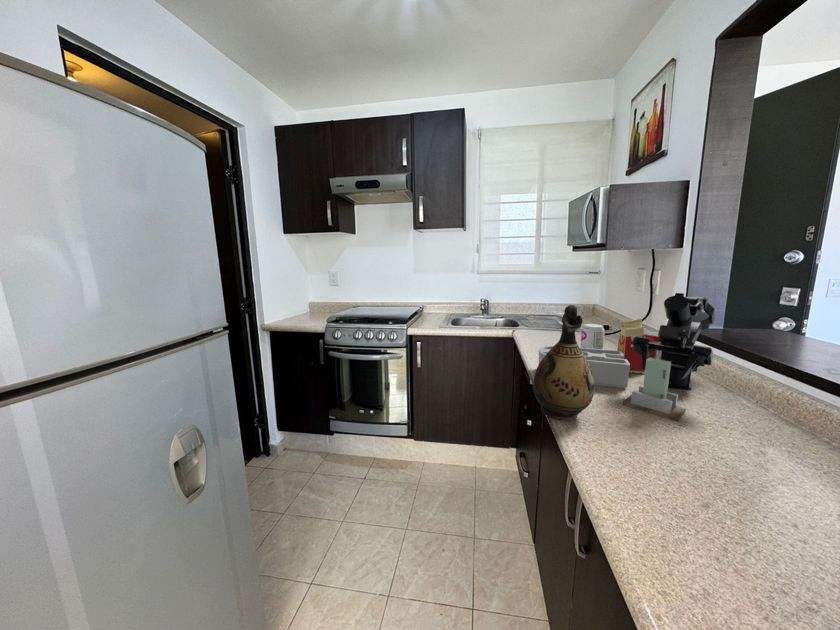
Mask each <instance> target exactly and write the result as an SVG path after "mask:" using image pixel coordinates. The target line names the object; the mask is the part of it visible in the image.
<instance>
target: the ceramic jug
mask: <svg viewBox="0 0 840 630" xmlns="http://www.w3.org/2000/svg"><path fill="white" fill-rule="evenodd" d="M563 312H564V314H563V315H562V317H561V322H562V325H561V326H562V327H561V334H560V337H559V340H558V342H557V343H555V344H554V345H552V346H553V347H552V349H551V350H549V352H548V353H547V354H546V355H545V356H544V358H543V359H542V360H541V362H540V363H539V362H538V365H537V367H536V370H535V372H534V375H533V380H532V381H533V382H532V391H533V393H534V396H535V399H536V400H537V401H538V403H539V405H540V409H541V413H542V415H544V416H547V417H548V418H551V419H553V420H557V421H573V420H575V419H576V418H577V416H578V415H579V414H580V413H581V412H583V411H584V410H585V409H586V408H588V407H589V406H590V404H591V403H592V401H593V398H594V395H595V385H594V377H593V374H592V371H591V368H590V365H589V364H588V362H587V360H586V358H585V356H584V354H583V353H582V351H581V350H580V345H579V344H578V341H577V338H576V331H577V330H579V329H582V324H583V318H582V316H581V315H578V306H576V305H574V304H569V305H567V306H565V309H564V311H563Z"/></svg>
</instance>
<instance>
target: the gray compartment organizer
mask: <svg viewBox="0 0 840 630" xmlns="http://www.w3.org/2000/svg"><path fill="white" fill-rule="evenodd" d="M553 346H554V345H548V346H547V345H545V346H541V347H539V348H538V364H539V363H540V362H541V360H542V359H543V358H544V356H545V355H546V354H547V353H548V352H549V350H551V349H552V347H553ZM579 348H580V347H579ZM580 350H581V351H582V353H583V354H584V356H585V358H586V360H587V362H588V364H589V365H590V368H591V371H592V374H593V377H594V386H598V385H601V386H600V387H606V386H610V387H609V388H614V387H617V388H616V389H622V388H626V389H627V388H628V384H629V374H630V372H629V370H630V363H629V362H628V360H627V359H624V355H623V353H622V352H621V351H617V350H612V349H604V348H603V349H591V348H580Z"/></svg>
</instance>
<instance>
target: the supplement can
mask: <svg viewBox="0 0 840 630" xmlns="http://www.w3.org/2000/svg"><path fill="white" fill-rule="evenodd" d="M605 331H606V330H605V328H604V325H602V324H598V323H597V324H596V323H584V324H583V325H582V326H581V334H580V335H581V336H580V345H579V348H591V349H603V350H604V343H605Z"/></svg>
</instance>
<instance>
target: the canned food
mask: <svg viewBox="0 0 840 630" xmlns="http://www.w3.org/2000/svg"><path fill="white" fill-rule="evenodd" d="M643 332H644V337H646V338H649V339H650V343H656V344H660V342H659V340H658V339H659V336H658V333H659V331H658V332H657V331H643ZM661 353H662V351H659V350H653V349H651V351H650V352H649V354H650V357H649V358H654V359H659V360H661Z"/></svg>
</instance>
